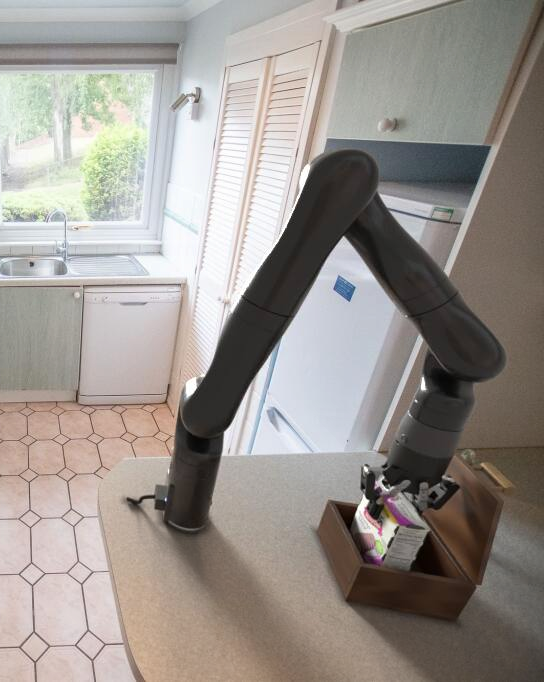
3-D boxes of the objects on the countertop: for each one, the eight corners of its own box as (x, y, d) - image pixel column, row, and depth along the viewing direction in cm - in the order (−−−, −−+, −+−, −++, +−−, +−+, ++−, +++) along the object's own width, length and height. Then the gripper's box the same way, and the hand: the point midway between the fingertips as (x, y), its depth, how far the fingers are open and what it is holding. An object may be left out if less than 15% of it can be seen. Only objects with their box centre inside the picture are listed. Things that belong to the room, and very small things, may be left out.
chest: (345, 601, 80) (361, 566, 77) (316, 531, 94) (328, 499, 91) (455, 622, 77) (477, 587, 73) (408, 546, 91) (424, 514, 87)
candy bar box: (341, 540, 91) (367, 477, 84) (369, 545, 90) (397, 481, 83) (367, 591, 81) (398, 524, 74) (398, 596, 80) (433, 529, 73)
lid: (497, 501, 66) (546, 502, 65) (437, 436, 80) (475, 436, 79) (475, 585, 73) (518, 587, 71) (422, 512, 87) (458, 513, 85)
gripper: (462, 433, 75) (424, 510, 82) (365, 422, 78) (337, 497, 85) (492, 463, 68) (448, 543, 76) (385, 449, 71) (353, 528, 79)
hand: (389, 518), depth 80 cm, fingers closed on candy bar box, 5 cm apart
